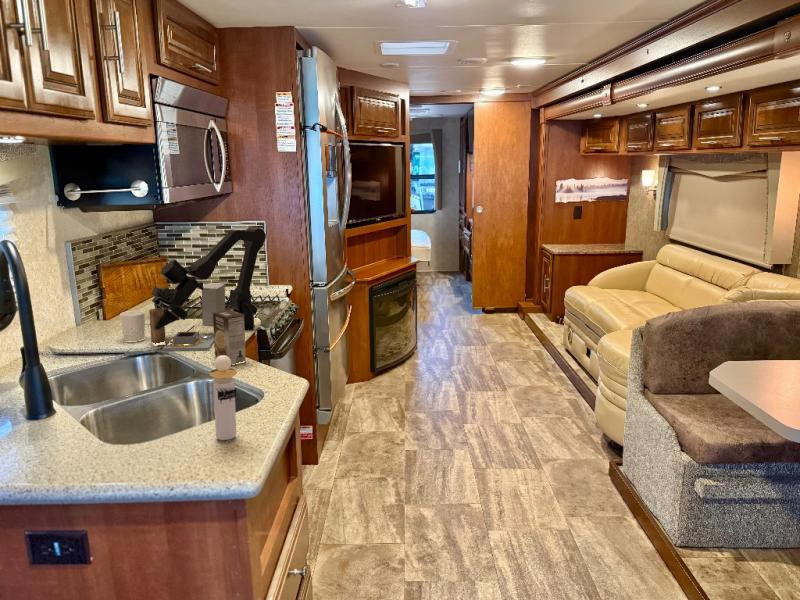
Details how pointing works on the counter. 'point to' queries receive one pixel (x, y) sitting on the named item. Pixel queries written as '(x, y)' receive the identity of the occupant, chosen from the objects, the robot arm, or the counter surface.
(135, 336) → the white cup
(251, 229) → the robot arm
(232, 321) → the coffee box
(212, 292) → the skincare box
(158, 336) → the peg
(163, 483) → the counter surface
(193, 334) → the gears
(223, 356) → the perfume bottle
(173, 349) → the board
